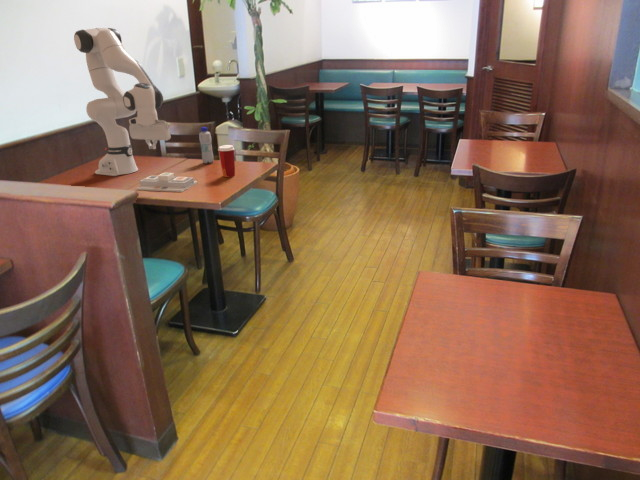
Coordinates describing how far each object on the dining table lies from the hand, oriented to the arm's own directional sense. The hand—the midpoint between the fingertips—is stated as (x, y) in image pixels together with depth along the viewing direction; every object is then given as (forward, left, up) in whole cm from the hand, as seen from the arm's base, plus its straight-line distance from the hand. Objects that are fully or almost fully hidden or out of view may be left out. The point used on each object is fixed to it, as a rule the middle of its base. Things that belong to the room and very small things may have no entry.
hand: (152, 148), depth 244 cm
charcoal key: (0, -4, -16) cm, 17 cm away
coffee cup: (+30, +18, -18) cm, 39 cm away
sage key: (+8, -4, -14) cm, 17 cm away
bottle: (+6, +42, -18) cm, 46 cm away
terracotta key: (+15, -4, -16) cm, 22 cm away
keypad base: (+8, -4, -17) cm, 19 cm away
